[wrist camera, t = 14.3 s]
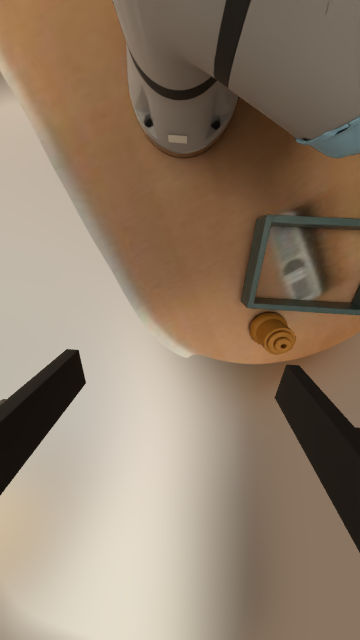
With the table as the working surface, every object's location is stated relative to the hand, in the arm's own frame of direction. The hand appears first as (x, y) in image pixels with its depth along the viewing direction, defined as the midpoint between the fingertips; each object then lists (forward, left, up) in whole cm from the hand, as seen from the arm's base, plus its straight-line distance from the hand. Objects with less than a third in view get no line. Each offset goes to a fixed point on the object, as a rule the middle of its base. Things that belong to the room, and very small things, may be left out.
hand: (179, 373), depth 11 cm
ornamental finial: (+8, +18, -27) cm, 33 cm away
